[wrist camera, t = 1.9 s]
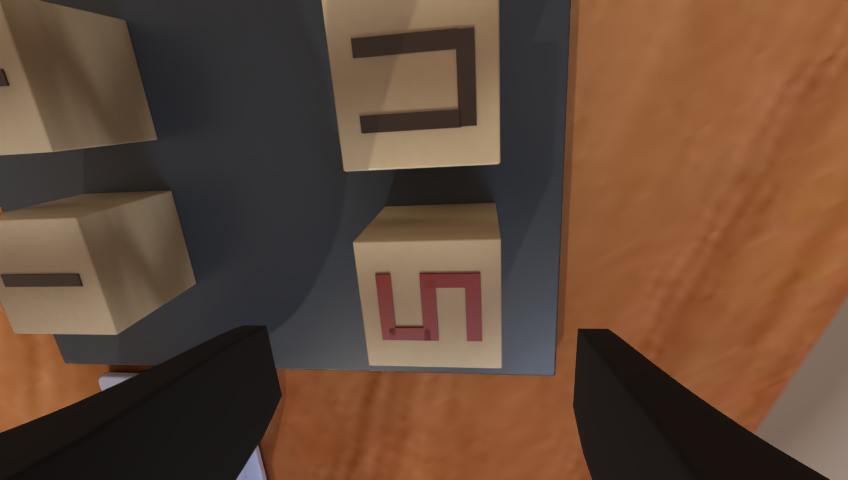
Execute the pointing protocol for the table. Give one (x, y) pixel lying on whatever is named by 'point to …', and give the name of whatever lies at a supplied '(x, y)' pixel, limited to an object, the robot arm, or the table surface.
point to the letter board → (268, 166)
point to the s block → (432, 286)
